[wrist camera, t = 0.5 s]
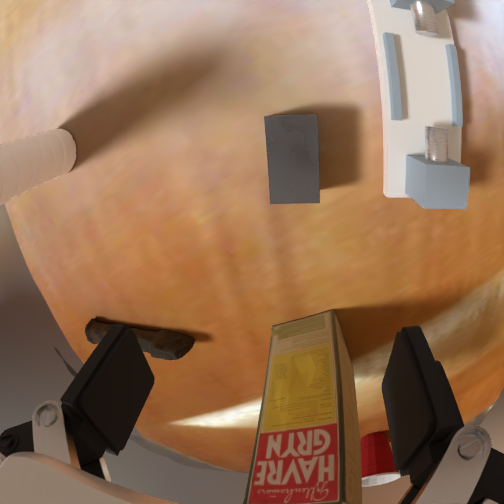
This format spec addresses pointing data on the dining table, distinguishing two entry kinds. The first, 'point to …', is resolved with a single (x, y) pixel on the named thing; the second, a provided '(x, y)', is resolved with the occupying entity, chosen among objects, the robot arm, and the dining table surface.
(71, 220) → the dining table surface
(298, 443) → the food packaging
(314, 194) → the block
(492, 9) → the dining table surface
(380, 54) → the shaft stand
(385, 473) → the plastic cup
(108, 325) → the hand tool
